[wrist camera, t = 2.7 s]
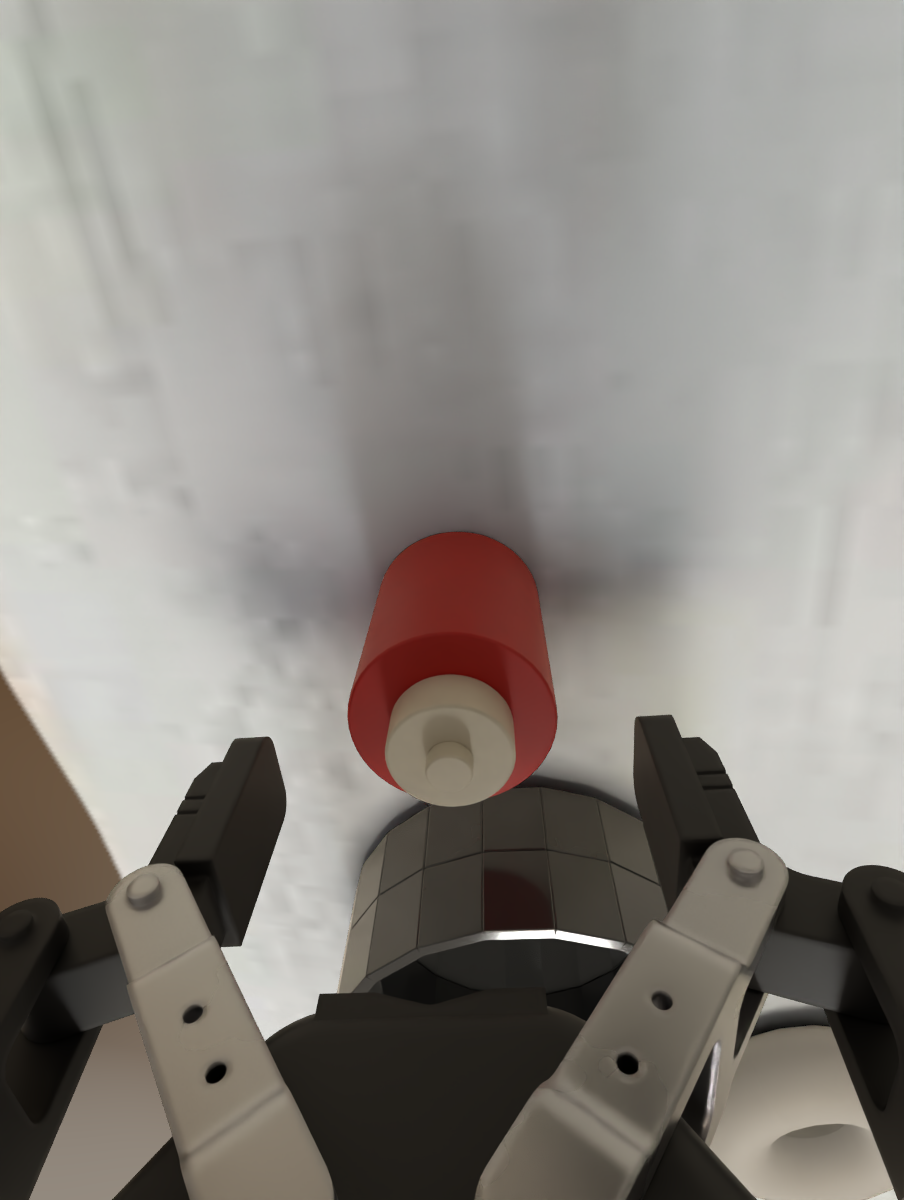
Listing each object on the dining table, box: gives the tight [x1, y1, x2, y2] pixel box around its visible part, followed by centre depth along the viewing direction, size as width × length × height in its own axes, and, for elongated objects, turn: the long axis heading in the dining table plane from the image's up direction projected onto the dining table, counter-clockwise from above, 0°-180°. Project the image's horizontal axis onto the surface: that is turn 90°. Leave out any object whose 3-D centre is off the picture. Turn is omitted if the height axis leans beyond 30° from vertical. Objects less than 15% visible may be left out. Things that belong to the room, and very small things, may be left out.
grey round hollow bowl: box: [337, 787, 669, 1021], centre depth 24 cm, size 12×12×6 cm
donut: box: [709, 1025, 894, 1200], centre depth 30 cm, size 10×3×10 cm
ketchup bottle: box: [347, 532, 558, 807], centre depth 18 cm, size 5×5×8 cm
